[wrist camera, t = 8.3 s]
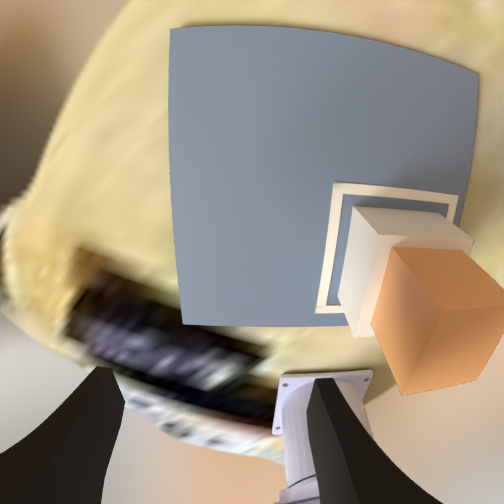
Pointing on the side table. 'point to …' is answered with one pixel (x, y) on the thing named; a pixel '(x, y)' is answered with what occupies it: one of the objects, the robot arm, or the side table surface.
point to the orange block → (436, 318)
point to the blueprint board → (301, 161)
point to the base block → (386, 254)
